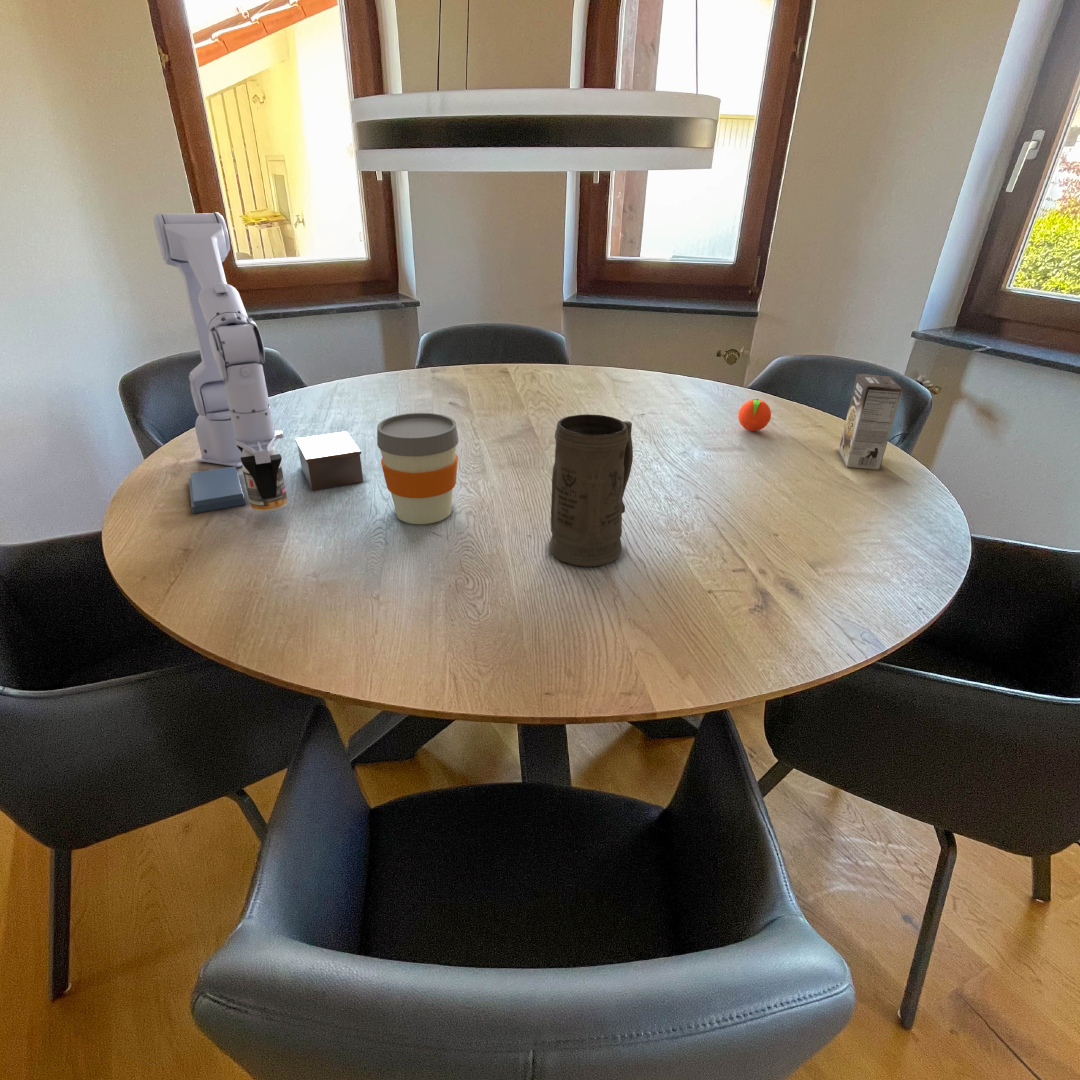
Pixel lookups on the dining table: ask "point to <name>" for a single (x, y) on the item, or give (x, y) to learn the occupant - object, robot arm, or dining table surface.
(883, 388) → the coffee box
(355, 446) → the walnut box
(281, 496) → the pill bottle
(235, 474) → the blue flat block
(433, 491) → the reusable coffee cup
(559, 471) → the beer stein
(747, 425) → the clementine
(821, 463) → the dining table surface
